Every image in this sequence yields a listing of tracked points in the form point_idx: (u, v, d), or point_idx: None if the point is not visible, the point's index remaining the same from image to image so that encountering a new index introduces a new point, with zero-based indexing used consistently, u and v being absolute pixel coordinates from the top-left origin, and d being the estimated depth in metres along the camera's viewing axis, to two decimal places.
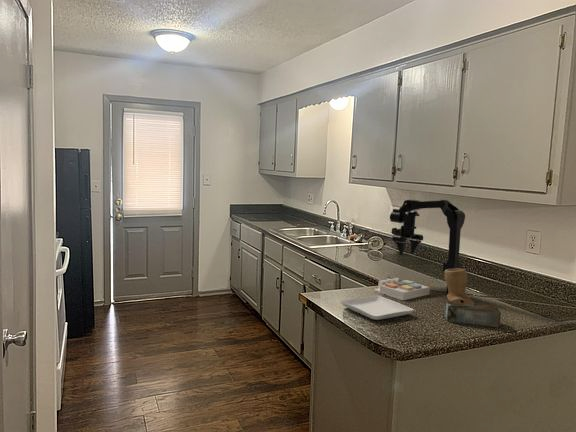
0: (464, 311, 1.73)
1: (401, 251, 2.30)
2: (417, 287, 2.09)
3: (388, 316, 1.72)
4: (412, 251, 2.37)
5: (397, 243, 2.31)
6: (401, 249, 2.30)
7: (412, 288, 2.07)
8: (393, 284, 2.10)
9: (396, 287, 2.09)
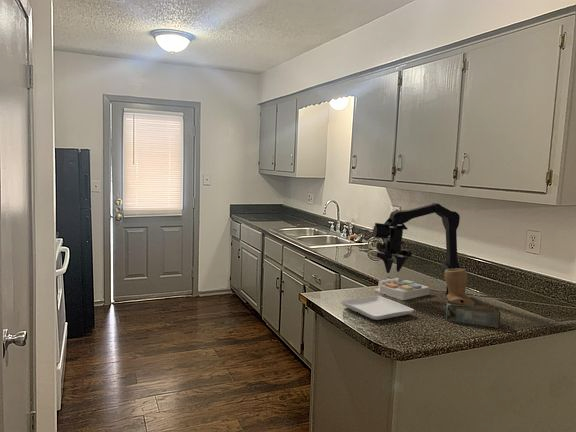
0: (464, 310, 1.74)
1: (388, 269, 2.07)
2: (417, 287, 2.09)
3: (388, 316, 1.72)
4: (398, 269, 2.12)
5: (384, 260, 2.07)
6: (388, 267, 2.06)
7: (412, 288, 2.07)
8: (393, 284, 2.10)
9: (396, 287, 2.09)
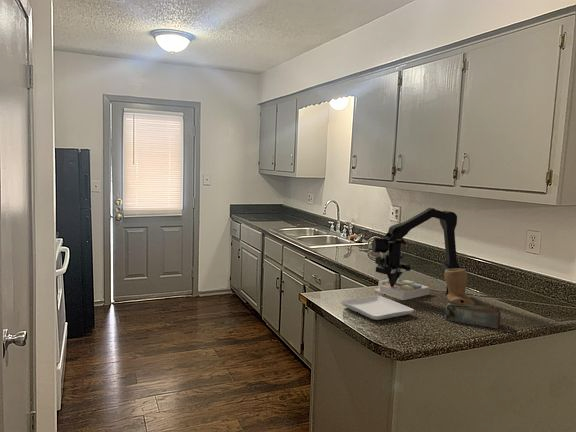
0: (463, 310, 1.74)
1: (392, 282, 2.09)
2: (417, 287, 2.09)
3: (388, 316, 1.72)
4: None
5: (387, 273, 2.10)
6: (392, 280, 2.09)
7: (412, 288, 2.07)
8: (393, 286, 2.11)
9: None
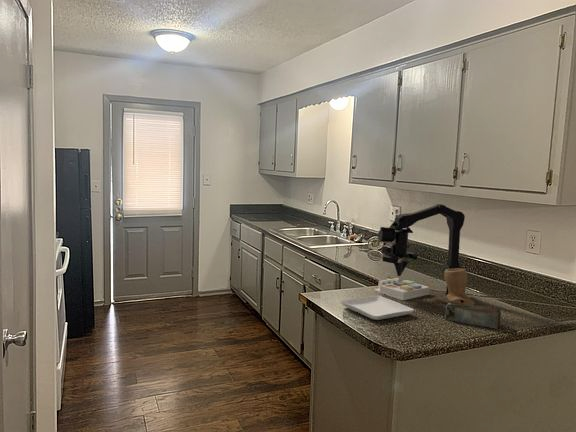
0: (462, 310, 1.74)
1: (399, 272, 2.09)
2: (417, 287, 2.09)
3: (388, 316, 1.72)
4: None
5: (394, 263, 2.10)
6: (399, 269, 2.09)
7: (412, 288, 2.07)
8: (393, 287, 2.11)
9: None
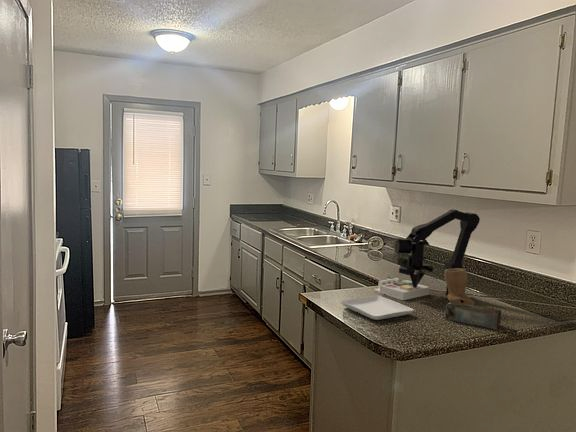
0: (462, 310, 1.74)
1: (414, 283, 2.10)
2: None
3: (388, 316, 1.72)
4: None
5: (410, 274, 2.11)
6: (415, 281, 2.10)
7: (412, 288, 2.07)
8: (393, 287, 2.11)
9: None
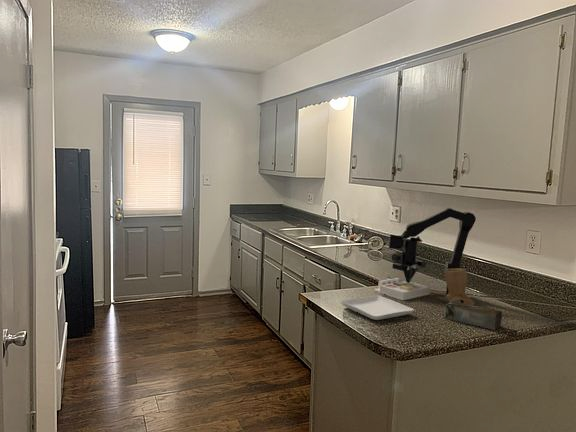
0: (461, 309, 1.75)
1: (408, 279, 2.17)
2: None
3: (388, 316, 1.72)
4: None
5: (403, 270, 2.17)
6: (408, 276, 2.16)
7: (412, 288, 2.07)
8: (393, 287, 2.11)
9: None
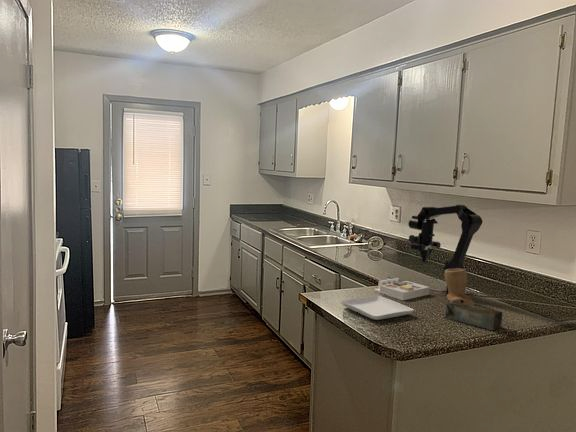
0: (461, 309, 1.75)
1: (424, 258, 2.29)
2: None
3: (388, 316, 1.72)
4: None
5: (420, 250, 2.29)
6: (424, 256, 2.29)
7: (412, 288, 2.07)
8: (393, 287, 2.11)
9: None
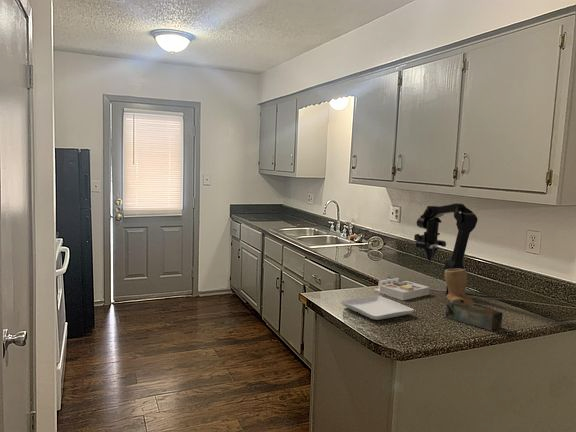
0: (460, 309, 1.75)
1: (429, 257, 2.33)
2: None
3: (388, 316, 1.72)
4: None
5: (425, 249, 2.33)
6: (429, 255, 2.32)
7: (412, 288, 2.07)
8: (393, 287, 2.11)
9: None
